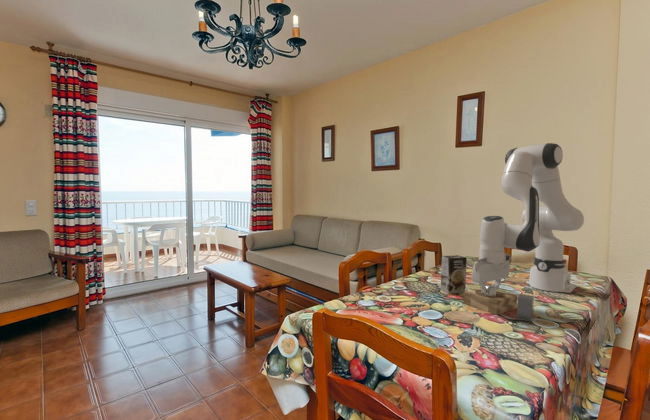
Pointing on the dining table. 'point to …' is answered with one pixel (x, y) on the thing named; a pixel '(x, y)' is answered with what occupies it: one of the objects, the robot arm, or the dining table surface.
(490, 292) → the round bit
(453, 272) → the coffee box
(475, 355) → the dining table surface
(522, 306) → the square bit
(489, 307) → the bore block
